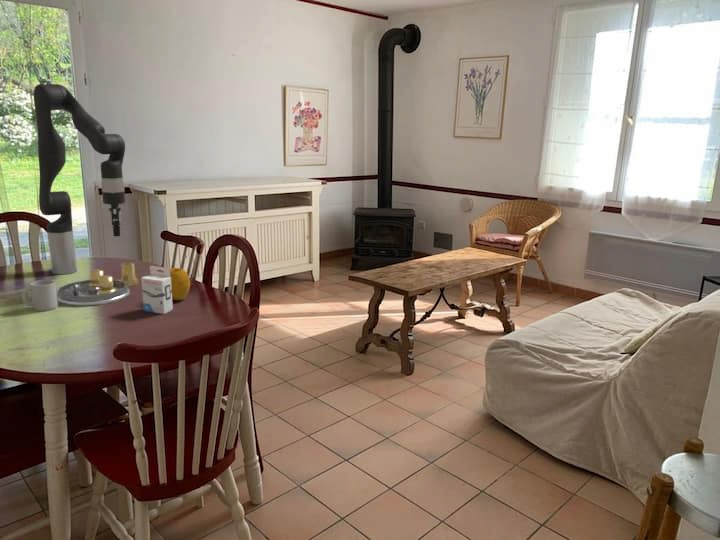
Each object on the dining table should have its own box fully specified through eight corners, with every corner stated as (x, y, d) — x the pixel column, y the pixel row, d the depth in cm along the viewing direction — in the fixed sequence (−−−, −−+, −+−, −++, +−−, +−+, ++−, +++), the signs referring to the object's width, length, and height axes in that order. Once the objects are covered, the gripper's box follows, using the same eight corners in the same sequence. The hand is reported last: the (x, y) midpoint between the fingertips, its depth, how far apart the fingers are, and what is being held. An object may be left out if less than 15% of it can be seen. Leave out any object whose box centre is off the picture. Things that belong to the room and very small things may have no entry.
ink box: (142, 311, 184) (139, 268, 180) (152, 306, 188) (149, 265, 185) (164, 314, 181) (161, 271, 178) (173, 309, 186) (171, 267, 182)
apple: (157, 299, 196) (155, 267, 193) (180, 293, 204) (178, 262, 201) (173, 305, 191) (171, 272, 188) (196, 298, 198) (195, 267, 195)
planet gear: (117, 283, 214) (115, 263, 212) (135, 280, 218) (133, 261, 216) (123, 287, 209) (121, 267, 207) (141, 284, 213) (139, 264, 211)
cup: (58, 309, 183) (55, 284, 181) (23, 314, 178) (20, 287, 176) (57, 303, 189) (54, 278, 187) (23, 307, 184) (20, 282, 182)
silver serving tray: (50, 293, 199) (47, 273, 197) (117, 283, 214) (115, 264, 212) (67, 310, 182) (64, 288, 180) (139, 297, 197) (137, 277, 195)
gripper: (102, 188, 205) (106, 230, 209) (101, 192, 192) (105, 238, 196) (124, 187, 208) (127, 230, 212) (124, 192, 195) (128, 237, 199)
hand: (117, 233), depth 204 cm, fingers open, 8 cm apart
